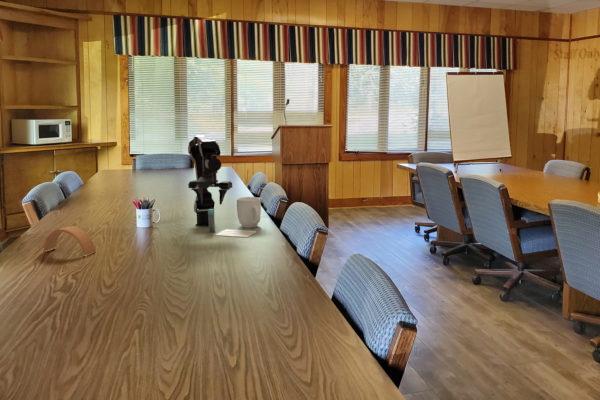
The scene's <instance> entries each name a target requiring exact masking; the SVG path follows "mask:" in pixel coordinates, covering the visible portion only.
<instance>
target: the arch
mask: <svg viewBox="0 0 600 400" xmlns="http://www.w3.org/2000/svg"><path fill="white" fill-rule="evenodd" d="M62 233H66V234H69V235H70V236H72V237H73V238H74V239H75V240H76V241H77V242H78V245H80V248H81V250H82V254H83V255H86V254H89V253H92V252H95V253H96V248H95V244H94V242H93V240H92V238H91V236H89V234H88V233H87V232H86V231H85V230H83V229H82V228H80V227H78V226H73V225H72V226H65V227H62V228H59V229H56V230H53V231H51V232H50V233H49V234H48V235H47V237H46V238H45V242H44V245H43V251H44V250H48V249H51V248H54V247H56V248H57V244H58V240H59V237H60V236H61V234H62Z"/></svg>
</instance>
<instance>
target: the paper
mask: <svg viewBox="0 0 600 400" xmlns="http://www.w3.org/2000/svg"><path fill="white" fill-rule="evenodd" d="M257 232H258V231H257V230H248V229H247V230H246V229H244V230H243V229H227V228H226V229H224V230H221V231H220V232H217V233H216V234H215V237H216V236H217V237H231V238H232V237H233V238H250V237H251V236H252V235H254V234H256V233H257Z"/></svg>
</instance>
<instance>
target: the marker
mask: <svg viewBox="0 0 600 400" xmlns="http://www.w3.org/2000/svg"><path fill="white" fill-rule="evenodd" d="M208 218H209V226H208V232H209V233H215V232H216V225H215V223H216V222H215V208H214V209H209V210H208Z"/></svg>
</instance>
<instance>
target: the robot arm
mask: <svg viewBox="0 0 600 400" xmlns="http://www.w3.org/2000/svg"><path fill="white" fill-rule="evenodd" d="M187 152H188V154H189V157H190V160H191V161H192V162H193V164H194V170H195V178H196V179H195V180H191V181H189V182H188V184H187V185H188V187H187V188H188V189H190V190H191V191H194V193H195V194H196V196H195V200H194V202H193V212H194V213H195V214H196V223H195V224H194V225H195V226H200V227H201V226H202V227H203V226H204V227H205V226H206V227H209V218H208V210H209V209H214V210H215V205H216V202H215V200H214V198H213V195H212V194H213V193H212V192H210V191H209V190H208V189H209V188H219V189H218V193H219V200H218V201H219V206H221V205H222V204H223V201H224V199H225V196H226V194H227V192H228V191H229V190H230V189H232V188H233V183H232V181H231V180H223V181H220V182H219V180H218V179H217V178H218V177H217V174H218V171H219V170H221V168H222V162H221V160H220V159H219V158H218V157H220V156H221V149H220V145H219V144H218V142H217V141H216V139H208V138H207V137H206V135H204V134H199V135H194V136H193V139H192V140H191V141H189V142H188V146H187Z"/></svg>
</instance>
